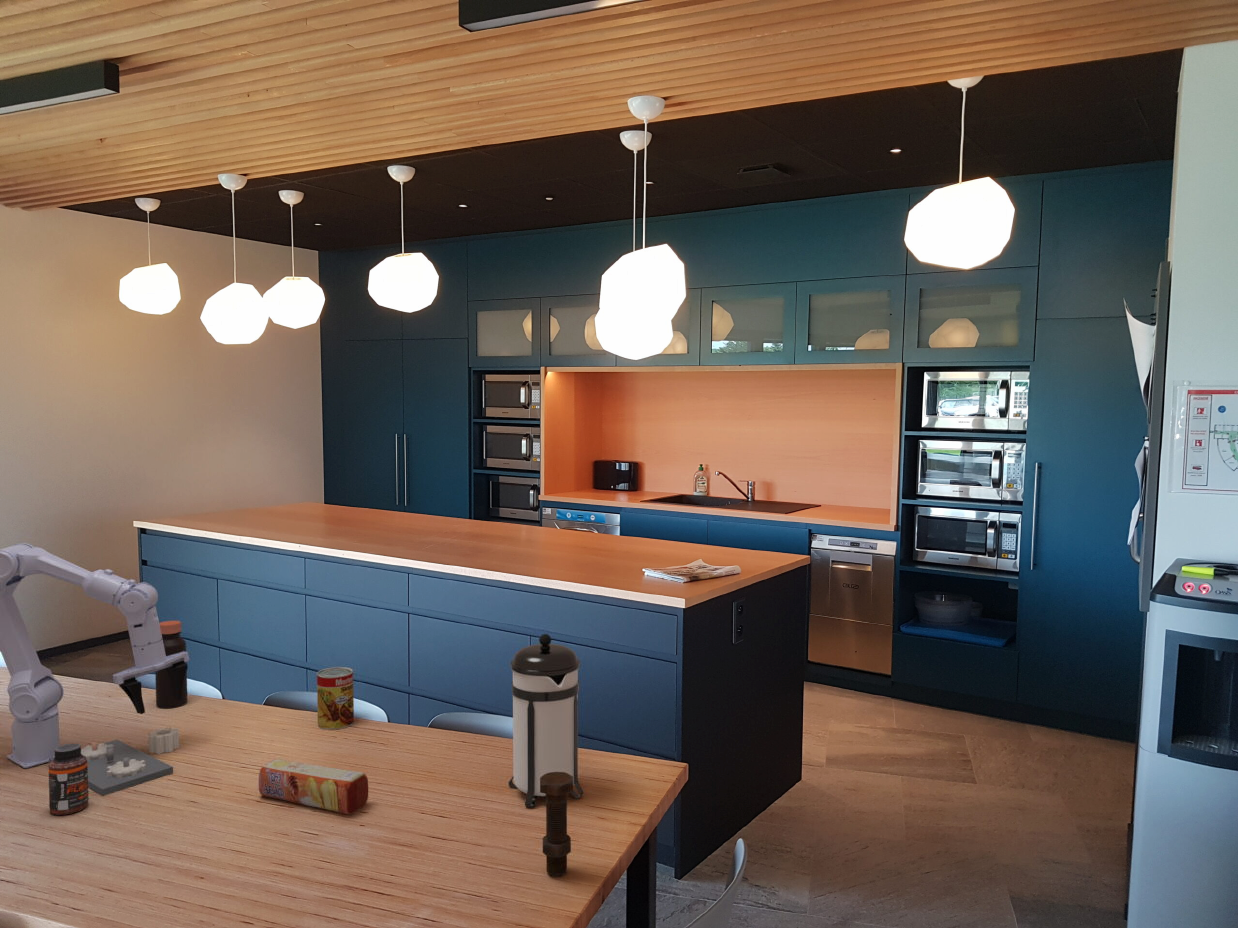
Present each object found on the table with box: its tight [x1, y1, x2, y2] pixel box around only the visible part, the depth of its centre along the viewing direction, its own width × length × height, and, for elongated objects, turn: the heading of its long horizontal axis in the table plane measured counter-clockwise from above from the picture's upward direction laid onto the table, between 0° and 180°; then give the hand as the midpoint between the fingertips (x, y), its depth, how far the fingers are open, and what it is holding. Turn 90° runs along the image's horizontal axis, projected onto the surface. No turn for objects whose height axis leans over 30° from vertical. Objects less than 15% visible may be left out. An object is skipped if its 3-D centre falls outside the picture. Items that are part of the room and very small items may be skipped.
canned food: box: [316, 666, 355, 731], centre depth 201 cm, size 8×8×12 cm
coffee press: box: [508, 633, 585, 809], centre depth 165 cm, size 17×16×30 cm
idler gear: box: [147, 727, 180, 755], centre depth 186 cm, size 6×6×4 cm
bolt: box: [540, 772, 574, 878], centre depth 136 cm, size 6×5×15 cm
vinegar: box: [154, 620, 189, 709], centre depth 214 cm, size 7×7×20 cm
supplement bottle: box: [48, 742, 89, 816], centre depth 158 cm, size 6×6×11 cm
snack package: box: [258, 758, 369, 816], centre depth 161 cm, size 21×7×7 cm, turn 67°
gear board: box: [48, 739, 174, 796], centre depth 176 cm, size 24×13×5 cm, turn 53°
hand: (159, 705), depth 184 cm, fingers open, 7 cm apart
